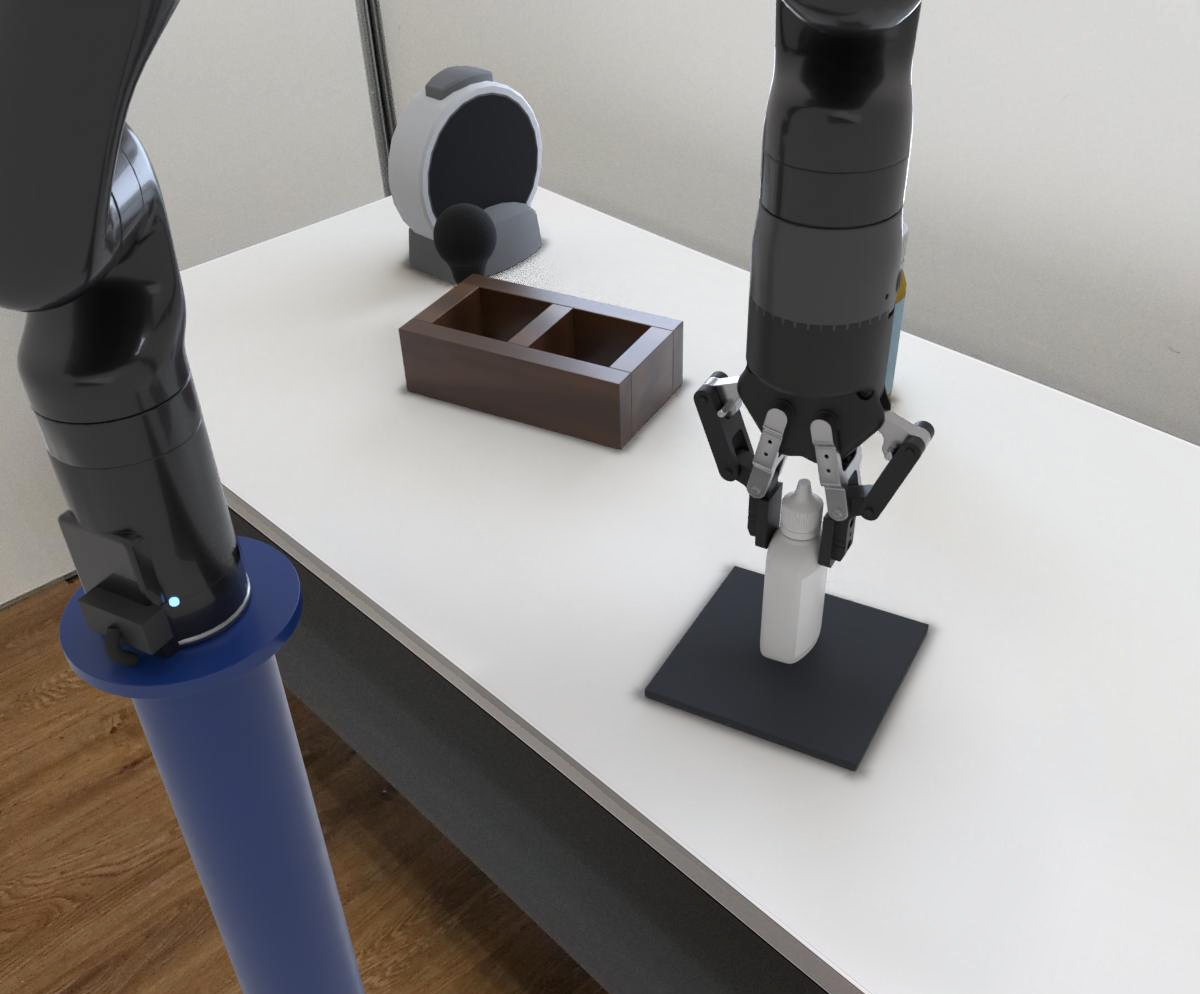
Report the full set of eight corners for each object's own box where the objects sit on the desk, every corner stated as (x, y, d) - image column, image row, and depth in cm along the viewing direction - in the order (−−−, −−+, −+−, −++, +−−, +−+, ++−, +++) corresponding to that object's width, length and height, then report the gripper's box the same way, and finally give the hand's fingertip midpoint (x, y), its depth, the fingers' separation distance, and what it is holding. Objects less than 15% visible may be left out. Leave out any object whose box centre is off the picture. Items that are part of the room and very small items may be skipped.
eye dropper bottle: (847, 637, 80) (866, 482, 72) (779, 673, 78) (792, 517, 70) (800, 602, 83) (815, 448, 75) (734, 636, 81) (742, 481, 73)
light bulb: (456, 289, 124) (445, 190, 118) (511, 296, 123) (503, 196, 116) (431, 316, 120) (419, 215, 113) (489, 324, 118) (479, 222, 112)
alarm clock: (449, 295, 123) (427, 105, 111) (383, 266, 128) (356, 81, 117) (566, 241, 132) (557, 59, 120) (500, 215, 137) (485, 39, 125)
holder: (620, 449, 101) (619, 384, 97) (407, 390, 109) (397, 328, 106) (682, 383, 109) (683, 320, 105) (478, 333, 117) (472, 272, 113)
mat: (855, 771, 74) (856, 764, 74) (644, 696, 80) (644, 689, 79) (927, 630, 84) (929, 624, 83) (734, 571, 89) (734, 565, 89)
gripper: (666, 288, 65) (665, 552, 76) (935, 346, 59) (891, 621, 71) (726, 232, 70) (717, 487, 81) (979, 281, 64) (932, 547, 76)
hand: (798, 548), depth 76 cm, fingers closed on eye dropper bottle, 3 cm apart
